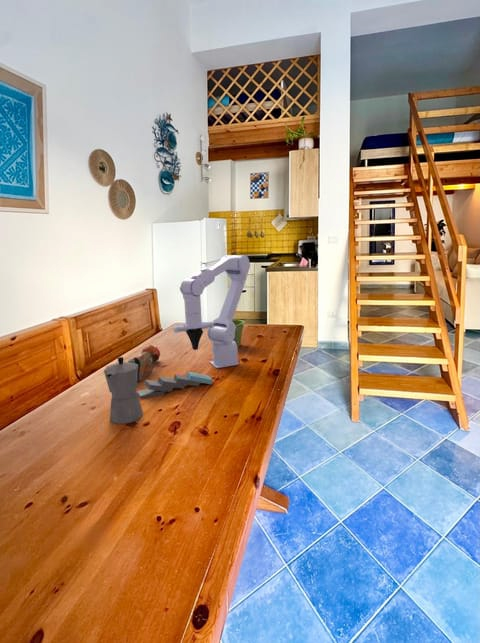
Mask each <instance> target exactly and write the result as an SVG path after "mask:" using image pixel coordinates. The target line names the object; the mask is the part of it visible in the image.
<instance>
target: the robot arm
mask: <svg viewBox="0 0 480 643" xmlns="http://www.w3.org/2000/svg"><path fill="white" fill-rule="evenodd" d="M250 269H251V262H250V259H249V257H248V256H247V255H246V254H241V255H239V254H236V255H235V254H234V255H233V254H225V255H224V256H222V257H221V258H220V260H219V261H218V262H217V263H215V264H214V265H213V266H211V267H210V268H204V267H203V268H200V271H199V272H197V273H196V274H193V275H191V277H190V278H185V279H183V281H182V282H181V284H180V286H179V291H180V292H181V294H182V298H183V300H184V315H185V316H184V317H185V324H180V325H176V326H173V333H175V334H177V333H181V332H185V333H186V335H187V337H188V339H189V341H190V344H191V347H192V350H194V351H197V350H199V346H200V341H201V338H202V336H203V334H204V329H208V330H207V337H208V339H209V340H210V343H212V359H213V360H210V361H209V363H210V364H211V365H212V366H213V367H214V368H215V369H220V368H226V367H232V366H238V365H239V364H240V363H239V353H238V351H239V349H238V347H237V344H236V342H235V341H233V340H234V337H235V329H236V326H235V324H234V323H233V321H232V320H234V316H235V314H236V311H237V308H238V305H239V302H240V300H241V299H240V298H241V296H242V293H243V291H244V287H245V285H246V280H247V277H248V274H249V271H250ZM224 272H225V273H226V275H227V277H228V278H229V279H230V280H231V281H230V284H229V287H228V290H227V293H226V295H225V298H224V302H223V304H222V307H221V310H220V314H219V316H218V317H216V318H214V319H213V320H212V321H207V322H206V321H203V319H202V302H201V301H202V300H201V295H202V294H203V293H204V291H205V290H204V289H206V288H207V287H208V286H209V285H211V284H212V283H213V282H215V279H216V277H217V276H219V275H221V274H222V273H224Z"/></svg>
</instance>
